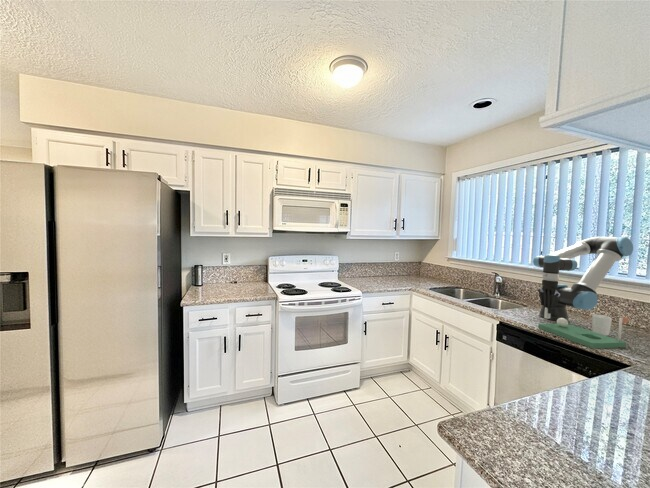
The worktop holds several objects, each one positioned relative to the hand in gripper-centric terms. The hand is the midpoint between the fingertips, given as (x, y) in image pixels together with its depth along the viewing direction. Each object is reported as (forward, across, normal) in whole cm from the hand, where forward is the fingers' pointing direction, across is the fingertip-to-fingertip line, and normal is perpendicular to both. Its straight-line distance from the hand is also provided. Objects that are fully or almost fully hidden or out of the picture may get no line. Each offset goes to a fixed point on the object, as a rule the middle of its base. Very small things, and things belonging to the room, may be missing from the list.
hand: (547, 318), depth 164 cm
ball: (0, +9, 0) cm, 9 cm away
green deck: (+5, +18, +1) cm, 19 cm away
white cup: (+5, +14, +20) cm, 25 cm away
